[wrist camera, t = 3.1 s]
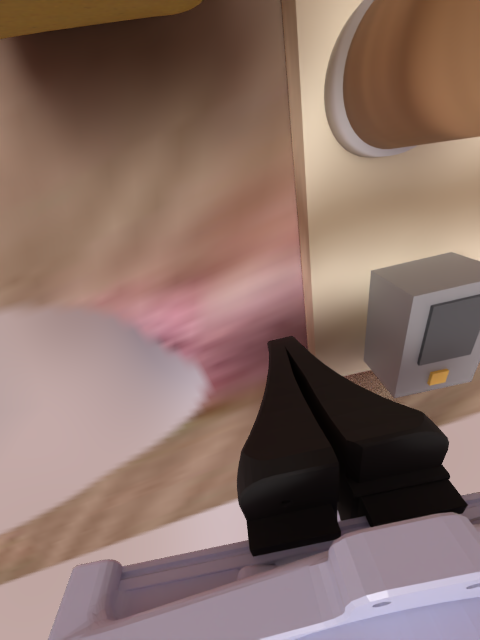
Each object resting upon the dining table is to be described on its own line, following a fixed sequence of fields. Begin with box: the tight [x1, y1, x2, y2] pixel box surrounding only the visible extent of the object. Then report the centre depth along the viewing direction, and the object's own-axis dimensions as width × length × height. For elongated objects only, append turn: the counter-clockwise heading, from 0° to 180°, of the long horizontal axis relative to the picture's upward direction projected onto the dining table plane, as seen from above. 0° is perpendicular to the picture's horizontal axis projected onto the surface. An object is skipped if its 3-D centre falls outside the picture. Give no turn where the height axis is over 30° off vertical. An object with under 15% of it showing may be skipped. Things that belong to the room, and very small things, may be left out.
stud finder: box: [364, 252, 480, 398], centre depth 12 cm, size 6×4×3 cm, turn 12°
